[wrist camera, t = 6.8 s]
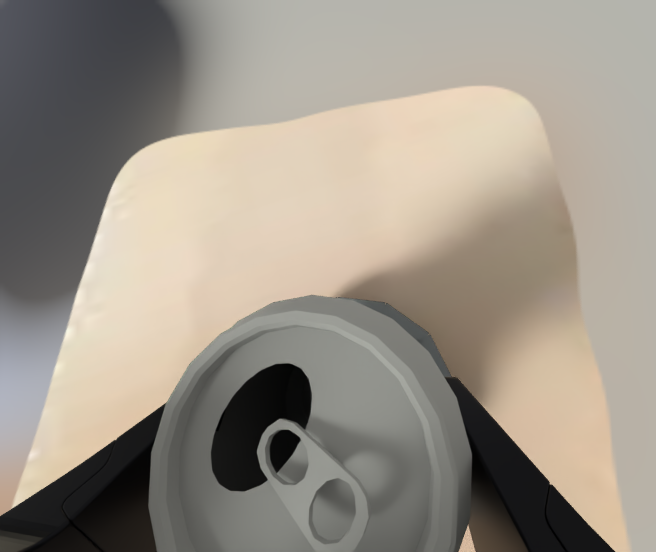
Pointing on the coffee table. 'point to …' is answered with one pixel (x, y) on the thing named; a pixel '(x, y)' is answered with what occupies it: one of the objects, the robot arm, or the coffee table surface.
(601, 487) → the coffee table surface
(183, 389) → the can
